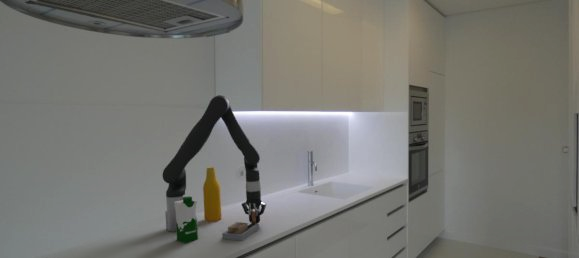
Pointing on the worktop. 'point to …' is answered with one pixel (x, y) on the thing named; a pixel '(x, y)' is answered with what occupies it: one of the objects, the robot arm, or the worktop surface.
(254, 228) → the lane
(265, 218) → the worktop surface
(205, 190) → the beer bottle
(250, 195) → the robot arm
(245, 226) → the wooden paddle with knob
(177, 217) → the milk carton
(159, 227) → the worktop surface
